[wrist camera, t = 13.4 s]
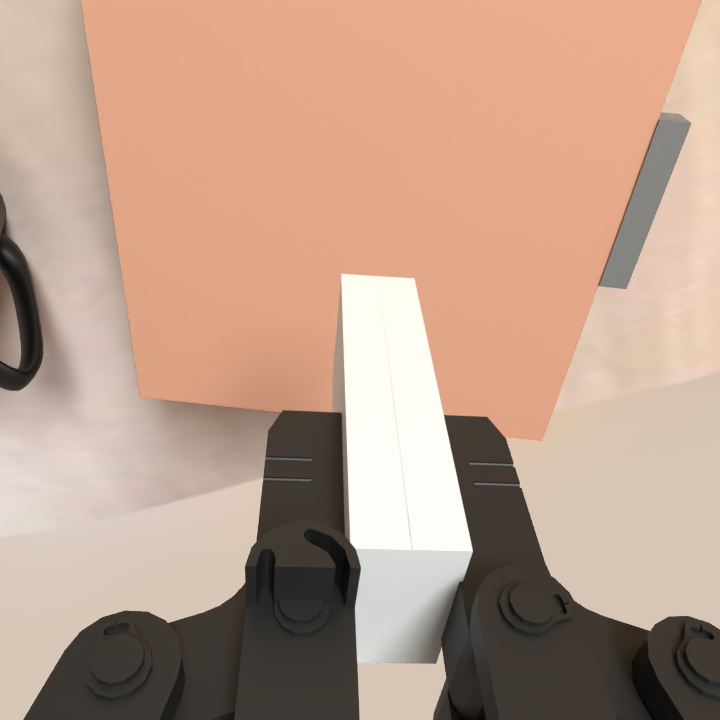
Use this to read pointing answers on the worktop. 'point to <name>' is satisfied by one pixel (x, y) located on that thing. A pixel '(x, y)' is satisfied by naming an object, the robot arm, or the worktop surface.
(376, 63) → the lid
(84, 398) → the worktop surface
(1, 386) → the mug
